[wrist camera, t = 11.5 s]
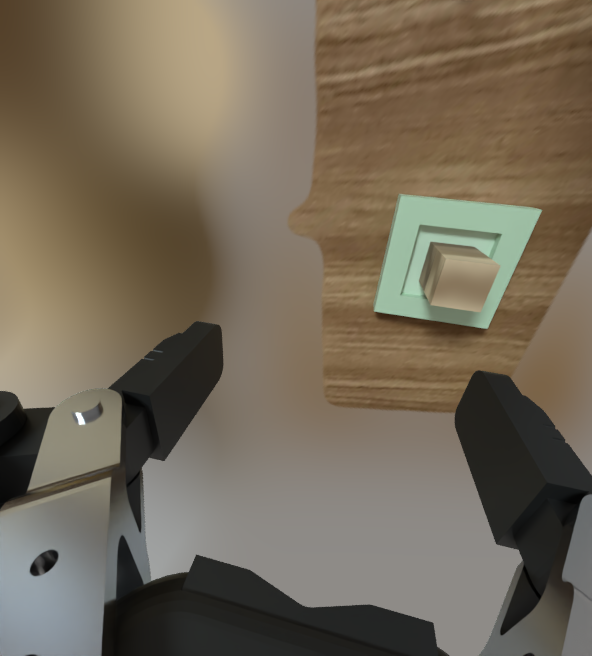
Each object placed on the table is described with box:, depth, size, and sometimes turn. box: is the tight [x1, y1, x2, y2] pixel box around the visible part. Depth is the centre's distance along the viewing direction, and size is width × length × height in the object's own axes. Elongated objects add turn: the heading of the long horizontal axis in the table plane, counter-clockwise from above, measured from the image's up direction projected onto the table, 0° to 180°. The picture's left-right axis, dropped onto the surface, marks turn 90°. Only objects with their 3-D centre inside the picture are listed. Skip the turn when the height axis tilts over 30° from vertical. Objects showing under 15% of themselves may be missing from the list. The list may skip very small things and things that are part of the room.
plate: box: [374, 194, 542, 329], centre depth 33 cm, size 13×13×2 cm
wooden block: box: [419, 242, 500, 313], centre depth 30 cm, size 4×4×7 cm
